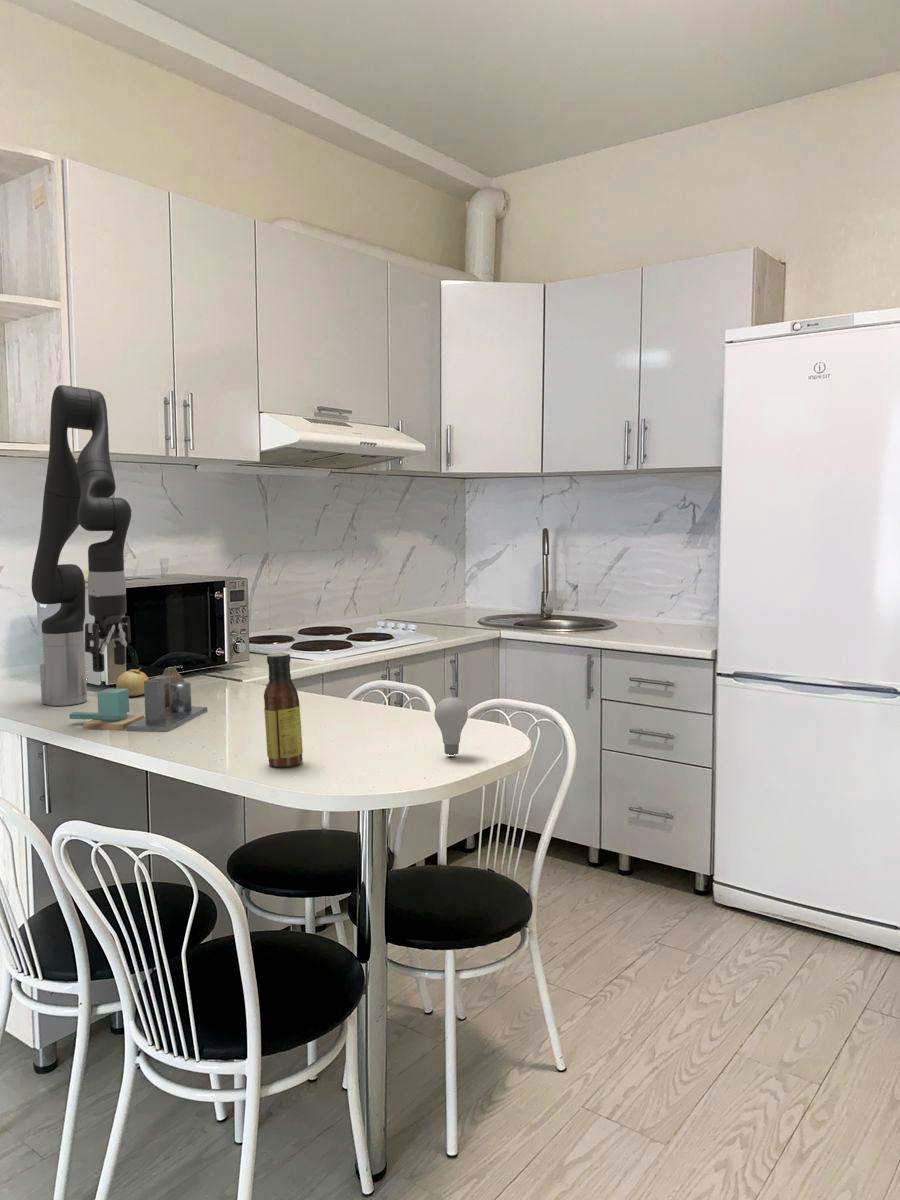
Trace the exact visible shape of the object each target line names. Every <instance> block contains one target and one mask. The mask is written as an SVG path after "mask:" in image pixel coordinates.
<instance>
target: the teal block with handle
mask: <svg viewBox="0 0 900 1200" xmlns="http://www.w3.org/2000/svg"><path fill="white" fill-rule="evenodd" d="M96 694H97V696H96V697H97V712H89V711H87V712H84V711H80V712H79V711H73V712H70V713H69V714H68V715H69V717H68V718H69V720H93V719H96V720H101V721H104V722H116V721H122V720H125V719H127V715H128V713H129V712H130V697H129V692H128V689H117V688H110V687H109V688H105V689H102V690H100V691H98V692H97V693H96Z"/></svg>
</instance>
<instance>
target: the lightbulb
mask: <svg viewBox="0 0 900 1200" xmlns="http://www.w3.org/2000/svg"><path fill="white" fill-rule="evenodd" d="M468 711H469V709H468V707H467V706H466V704H465V702H464V701H463V700H461V699H460V698H458V697H446V698H443V699H441V700H440V701H439V702H438V703H437V704H436V706H435V709H434V712H433V713H434V719H435V722H436V724H437V726H438V727H439V729H440V732H441V735H442V743H443V745H444V747H443V748H444V753H445V755H446V754H449V755H454V754H457V755H458V754H459V751H460V750H459V748H460V747H459V746H460V742H461V736H462V731H463V729H464V726H465V725H466V723H467V721H468V718H469V717H468V716H469V712H468Z"/></svg>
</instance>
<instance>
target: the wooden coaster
mask: <svg viewBox="0 0 900 1200" xmlns="http://www.w3.org/2000/svg"><path fill="white" fill-rule="evenodd" d="M143 718H145V714H127V719H125V720H122V721H116V722H104V721H101V720H96V719H89V720H88V721H85V722H83V723H82V725H83V727H82V728H83V730H106V731H107V730H110V731H124V730H127V727H126V726H128V725H130V724H132V723H134V722H136V721H139V720H141V719H143Z"/></svg>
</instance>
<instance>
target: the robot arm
mask: <svg viewBox="0 0 900 1200" xmlns="http://www.w3.org/2000/svg"><path fill="white" fill-rule="evenodd" d="M107 408H108V407H107V402H106V399H105V397H104V395H103V393H102V392H100V391H99V390H95V389H92V388H86V387H85V388H83V387H78V386H73V385H72V386H70V385H63V384H61V385H60V384H59V385H57V386H56V387H55V389H54V390H53V393H52V398H51V405H50V422H49V423H50V424H49V427H50V428H49V429H50V430H49V449H48V450H49V451H48V460H47V468H46V477H45V482H44V489H43V490H44V491H43V500H42V501H43V502H42V514H41V525H40V533H39V540H38V545H37V550H36V555H35V559H34V565H33V569H32V575H31V593H32V596H33V599H34V600H35V601H36V603H38V604H41V605H55V604H56V605H58V604H60V608H59V609H58V611H56V613H54V614H53V615H50V616H49V617H47V618H45V619H43V620H42V623H41V637H42V639H41V640H42V655H43V657H42V658H43V663H41V664H40V665H39V671H40V672H39V674H40V693H41V704H42V705H47V706H71V705H77V704H83V703H86V702H87V701H88V691H87V672H86V670H87V669H86V653H89V654H91V656H92V671H93V672H94V673H103V672H104V671H105V654H104V651H105V649H106V646H108V645H109V644H110V642H112V644H113V646H114V648H113V656H114V657H113V658H114V660H113V661H114V665H117V666H118V665H120V666H122V665H125V664H126V647H127V646H128V644H130V643H131V642H132V637H131V619H130V616H129V615H125V614H126V613H127V586H126V585H127V583H126V582H127V581H126V577H125V565H124V564H125V561H124V560H125V558H124V554H125V542H126V540H127V539H126V538H127V534H128V531H129V527H130V524H131V519H132V508H131V505H130V503H129V502H128V501H127V500H126V499H124V498H123V497H112V496H113V495H114V494H115V492H116V489H117V488H116V487H117V486H116V481H115V476H114V472H113V467H112V464H111V462H112V461H111V457H110V456H111V455H110V443H109V442H110V439H109V424H108V423H109V422H108V409H107ZM68 428H69V429H76V430H83V431H91V433H92V434H91V436H90V439H89V441H88V442H87V443H86V445H85V446H84V447H83V449H82V450H81V451H80V453H79V455H78V458H77V461H76V459H75V457H74V454H73V453H72V450H71V448H70V444H69V439H68V438H69V437H68ZM79 526H80V527H82V528H83V529H84V530H86V531H88V532H111V533H112V534H111V535H110V537H109V538H108V539H107V540H104V541H99V542H94V543H91V544H90V545H89V546H88V547H87V548H88V549H87V565H88V566H87V567H88V574H87V575H88V576H87V598H88V601H87V602H88V603H87V604H88V614H89V615H90V616H91V617H92V616H93V617H94V622H91V623H88V622H87V623H85V619H86V581H85V580H86V579H85V575H84V572H83V570H82V569H81V567H80V566H78V565H77V564H73V563H72V564H71V563H69V564H68V563H66V564H62V563H61V564H59V560H60V556H61V552H62V550H63V548H64V546H65V545H66V543H67V541H68V540H69V539H70V537H71V536H72V535H73V534H74V532H75V531H76V530H77V528H78V527H79ZM85 652H86V653H85Z"/></svg>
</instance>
